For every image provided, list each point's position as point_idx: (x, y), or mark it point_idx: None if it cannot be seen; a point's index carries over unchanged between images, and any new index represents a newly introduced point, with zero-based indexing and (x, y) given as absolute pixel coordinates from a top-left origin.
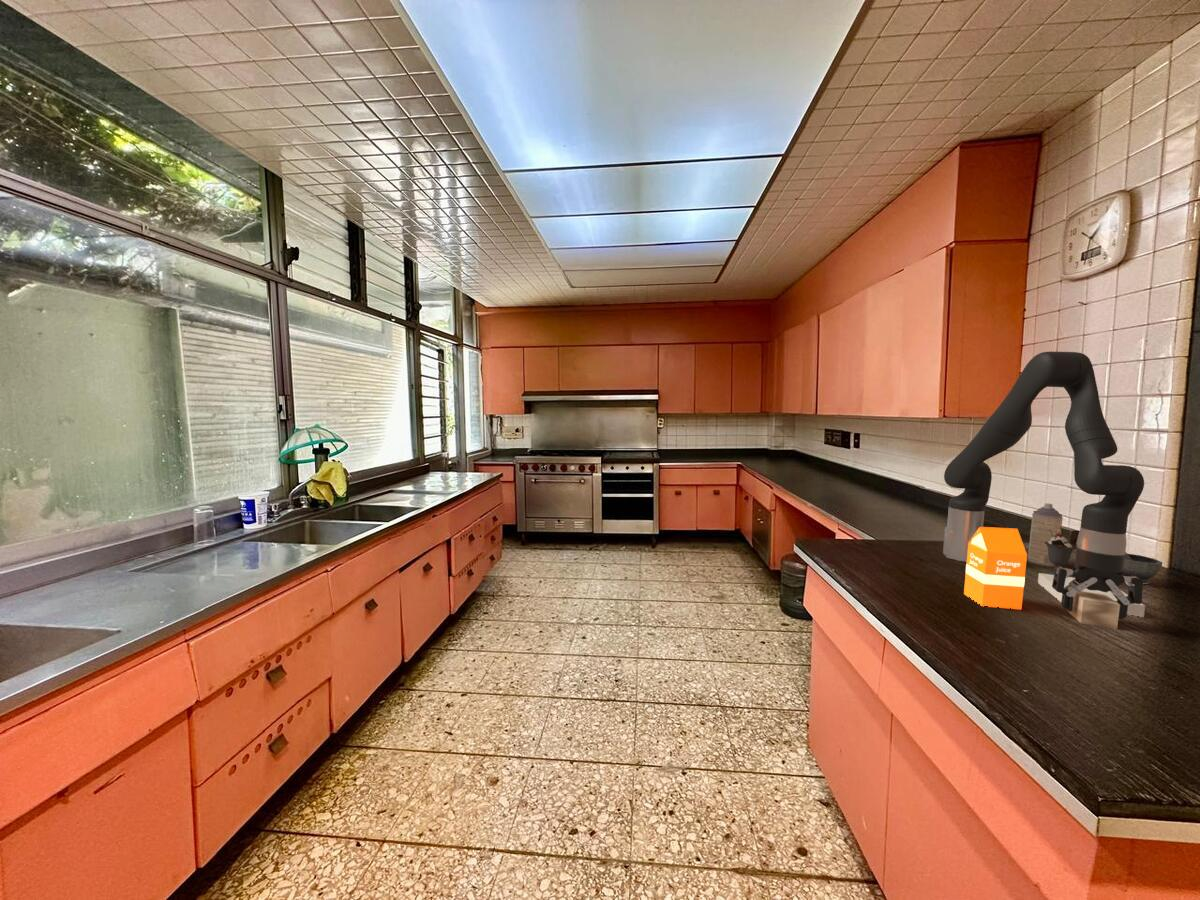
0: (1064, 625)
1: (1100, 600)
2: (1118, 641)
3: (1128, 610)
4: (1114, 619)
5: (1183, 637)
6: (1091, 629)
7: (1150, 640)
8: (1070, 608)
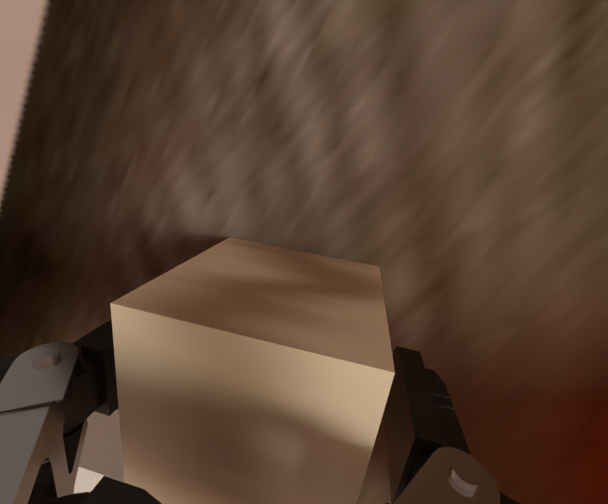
0: (527, 192)
1: (228, 374)
2: (328, 24)
3: (91, 425)
4: (218, 255)
5: (11, 231)
6: (378, 183)
7: (145, 132)
8: (411, 359)
